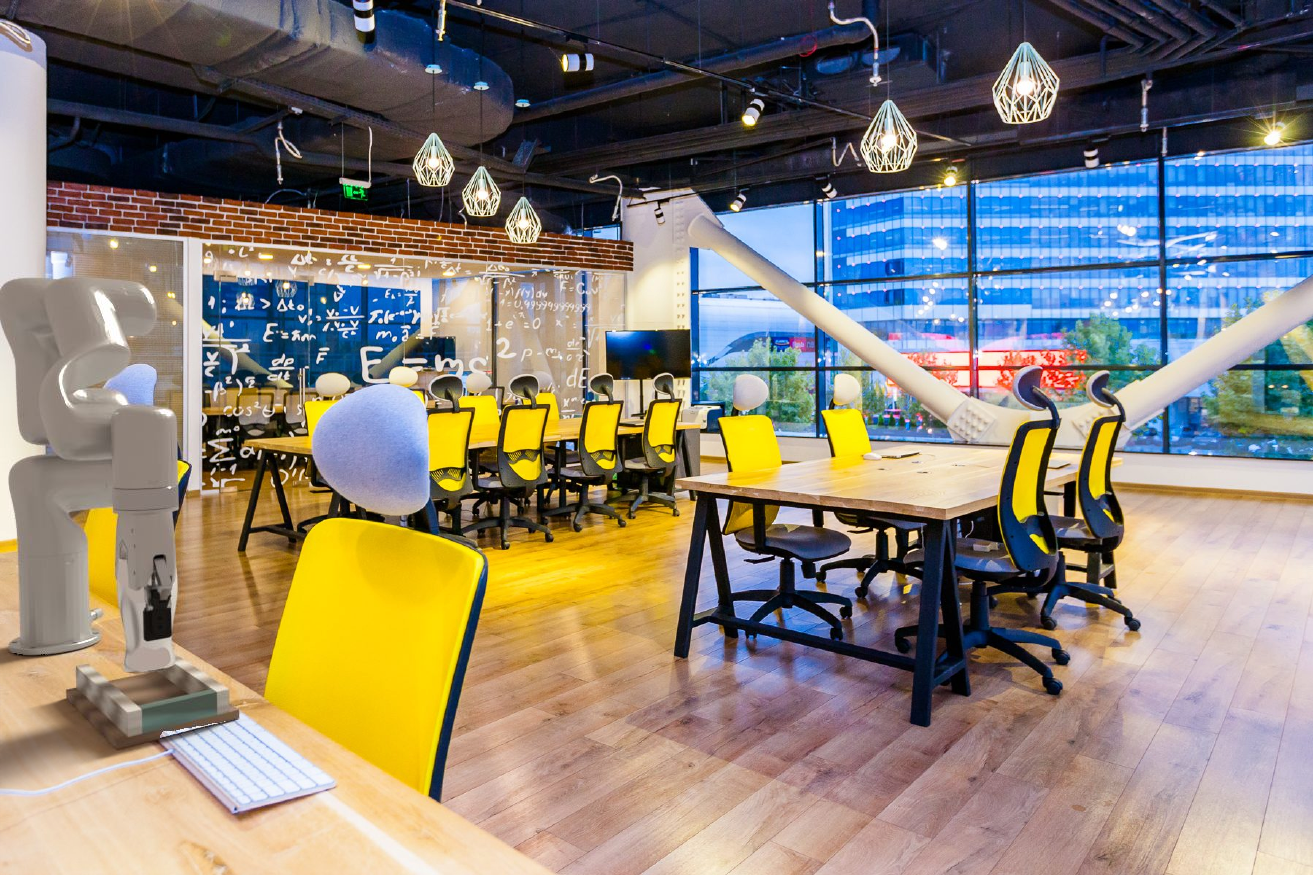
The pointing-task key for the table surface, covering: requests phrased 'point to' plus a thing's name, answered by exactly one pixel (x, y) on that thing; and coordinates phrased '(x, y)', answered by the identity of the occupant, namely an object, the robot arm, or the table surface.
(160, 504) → the robot arm
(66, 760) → the table surface
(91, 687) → the track board
